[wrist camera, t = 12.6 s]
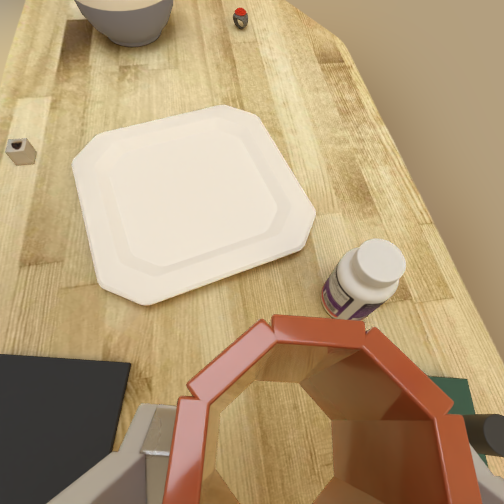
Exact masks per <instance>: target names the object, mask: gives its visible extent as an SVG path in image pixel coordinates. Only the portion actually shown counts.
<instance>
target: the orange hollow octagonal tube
mask: <svg viewBox="0 0 504 504" xmlns="http://www.w3.org/2000/svg"><path fill="white" fill-rule="evenodd" d="M255 380H258V381H273V382H287V383H299V384H300V385H301V386H302V388H303V389H304V390H305V391H306V392H307V393H308V394H309V396H310V397H311V398H312V399H313V400H314V401H315V402H316V404H317V405H318V406H319V407H320V408H321V409H322V410H323V412H324V413H325V414H326V415H327V416H328V417H329V418H330V420H331V428H332V448H333V468H334V477H333V478H332V479H331V480H330V482H329V483H328V484H327V485H326V487H325V488H324V489H323V490H322V492H321V493H320V494H319V495H318V496H317V498H316V499H315V500H314V501H313V503H312V504H483V503H482V498H481V494H480V489H479V485H478V480H477V476H476V472H475V467H474V463H473V458H472V454H471V449H470V445H469V440H468V436H467V431H466V427H465V422H464V418H463V416H462V415H460V414H447V413H448V412H449V410H450V409H451V408H452V406H453V405H454V402H453V400H452V399H451V398H450V397H449V396H448V395H446V394H445V393H444V392H443V391H442V390H441V389H440V388H439V387H438V386H437V385H436V384H435V383H434V382H433V381H432V380H431V379H430V378H429V377H428V376H427V375H426V374H425V373H424V372H422V371H421V370H420V369H419V368H418V367H417V366H416V365H415V364H414V363H413V362H412V361H411V360H410V359H409V358H408V357H407V356H406V355H405V354H404V353H403V352H402V351H401V350H400V349H399V348H397V347H396V346H395V345H394V344H393V343H392V342H391V341H390V340H389V339H388V338H387V337H386V336H385V335H384V334H383V333H382V332H381V331H380V330H379V329H378V328H376V327H372V328H371V329H369V330H367V331H365V323H364V322H363V321H359V320H346V319H333V318H319V317H306V316H292V315H279V314H274V315H272V317H271V320H270V322H269V324H268V323H267V322H266V321H265V320H264V319H259V320H258V321H257V322H256V323H255V324H253V325H252V326H251V327H250V328H249V329H248V330H247V331H245V332H244V333H243V334H242V335H241V336H240V337H238V338H237V339H236V340H235V341H234V342H233V343H232V344H230V345H229V346H228V347H227V348H226V349H225V350H224V351H222V352H221V353H220V354H219V355H218V356H217V357H215V358H214V359H213V360H212V361H211V362H210V363H209V364H207V365H206V366H205V367H204V368H203V369H202V370H200V371H199V372H198V373H197V374H196V375H195V376H194V377H192V378H191V379H190V380H189V381H188V382H187V384H186V386H187V388H188V390H189V391H190V392H191V394H192V395H193V396H194V397H193V396H180V397H179V398H178V402H177V408H176V415H175V421H174V428H173V434H172V441H171V448H170V454H169V461H168V467H167V474H166V480H165V487H164V494H163V500H162V504H240V503H239V501H238V500H237V499H236V497H235V496H234V494H233V493H232V492H231V490H230V489H229V487H228V486H227V484H226V483H225V482H224V480H223V479H222V477H221V476H220V474H219V473H218V472H217V470H216V469H215V467H216V456H217V445H218V434H219V424H220V413H221V412H222V411H223V410H224V409H225V408H226V407H227V406H228V405H229V404H230V403H232V402H233V401H234V400H235V399H236V398H237V397H238V396H239V395H240V394H241V393H242V392H243V391H244V390H245V389H246V388H247V387H248V386H249V385H250V384H251V383H253V382H254V381H255Z"/></svg>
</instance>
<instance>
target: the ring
mask: <svg viewBox="0 0 504 504" xmlns="http://www.w3.org/2000/svg"><path fill="white" fill-rule="evenodd" d="M237 19H238V20H240V21H242V22H243V24H244V26H243V27H241V26H240V25H239V24H238V21H237ZM233 20H234V23H235V25H236V26H237V27H238V28H239V29H243V28H245V27H246V26H247V23H248V15H247V13H246V11H245V10H244V9H243V8H238V9H236V10H235V13H234V15H233Z"/></svg>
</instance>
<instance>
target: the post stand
mask: <svg viewBox="0 0 504 504" xmlns="http://www.w3.org/2000/svg"><path fill="white" fill-rule="evenodd" d="M428 377H429V378H430V379H431V380H432V381H433V382H434V383H435V384H436V385H437V386H438V387H439V388H440V389H441V390H442V391H443V392H444V393H445V394H446V395H448V396H449V397H450V398H451V399H452V400H453V402H454V405H453V406H452V408H451V409H450V410H449V412H448V413H447V414H460V415H462V416H463V418H464V422H465V427H466V431H467V436H468V440H469V443H470V445H471V446H472V447H473V449H474V450H475V451H476V453H477V454H478V455H479V457H480V458H481V459H482V461H483V462H484V463H485V465H486V466H487V467H488V464H487V460H486V456H485V455H491V456H499V457H504V416H502V415H499V414H475V410H474V406H473V402H472V398H471V393H470V389H469V385H468V381H467V379H460V378H446V377H431V376H428Z"/></svg>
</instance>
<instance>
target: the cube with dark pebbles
mask: <svg viewBox="0 0 504 504" xmlns="http://www.w3.org/2000/svg"><path fill="white" fill-rule="evenodd" d="M5 153H6V154H7V155H8V156H9V158H10V159H11V160H12V161H13V162H14V163H15V165H25V164H34V162H35V157H36V150H35V149H34V148H33V146H32V145H31V143H30V142H29V141H28V139H27V138H25V139H8V143H7V147H6V150H5Z"/></svg>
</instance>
